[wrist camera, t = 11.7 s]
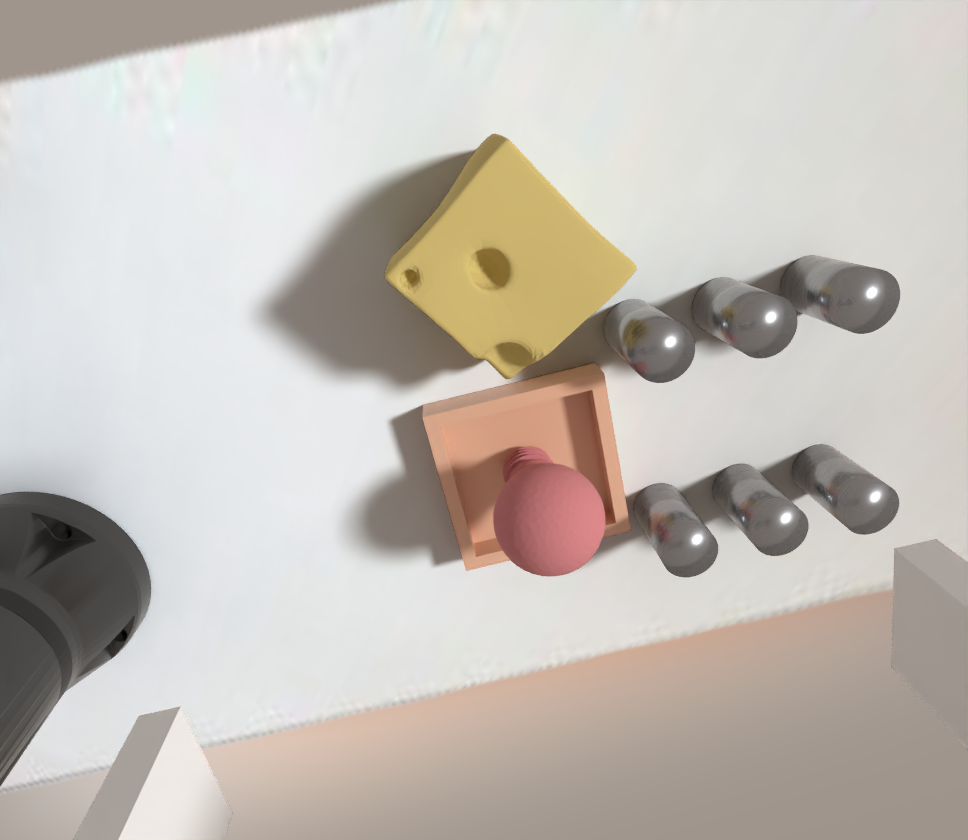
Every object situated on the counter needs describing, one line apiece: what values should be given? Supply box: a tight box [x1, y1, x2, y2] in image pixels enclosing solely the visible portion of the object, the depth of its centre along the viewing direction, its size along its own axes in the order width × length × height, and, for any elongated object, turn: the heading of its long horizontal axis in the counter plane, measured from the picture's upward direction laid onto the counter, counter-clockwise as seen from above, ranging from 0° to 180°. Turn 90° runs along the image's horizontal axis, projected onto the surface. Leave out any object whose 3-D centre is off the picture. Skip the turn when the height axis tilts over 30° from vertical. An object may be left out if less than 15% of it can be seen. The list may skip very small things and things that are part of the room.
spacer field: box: [604, 255, 900, 577], centre depth 47 cm, size 17×19×7 cm
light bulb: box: [493, 446, 605, 576], centre depth 44 cm, size 7×7×12 cm
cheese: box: [385, 134, 637, 379], centre depth 40 cm, size 10×11×10 cm
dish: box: [422, 363, 631, 571], centre depth 49 cm, size 13×13×3 cm
